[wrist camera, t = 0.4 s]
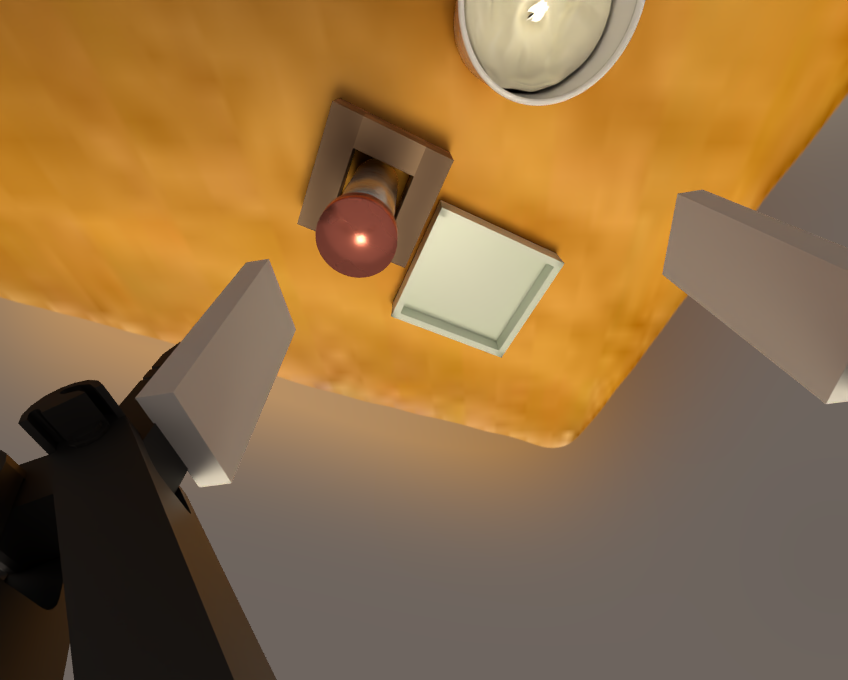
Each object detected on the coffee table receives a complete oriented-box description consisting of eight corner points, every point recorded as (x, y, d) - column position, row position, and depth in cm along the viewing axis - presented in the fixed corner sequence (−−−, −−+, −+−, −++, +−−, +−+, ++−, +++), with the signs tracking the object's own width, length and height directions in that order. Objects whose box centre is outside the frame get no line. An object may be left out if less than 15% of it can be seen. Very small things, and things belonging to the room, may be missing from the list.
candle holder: (550, 105, 34) (607, 118, 24) (434, 86, 33) (444, 91, 23) (592, -53, 29) (687, -121, 19) (455, -80, 28) (480, -167, 18)
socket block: (307, 210, 38) (297, 223, 35) (340, 98, 34) (332, 100, 30) (405, 251, 41) (404, 267, 38) (449, 152, 36) (453, 160, 33)
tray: (392, 304, 44) (391, 316, 42) (440, 199, 38) (442, 207, 36) (497, 344, 47) (501, 357, 45) (556, 253, 41) (564, 263, 39)
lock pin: (342, 196, 38) (305, 259, 25) (360, 144, 36) (329, 184, 22) (390, 217, 39) (380, 288, 26) (410, 168, 37) (409, 219, 24)
